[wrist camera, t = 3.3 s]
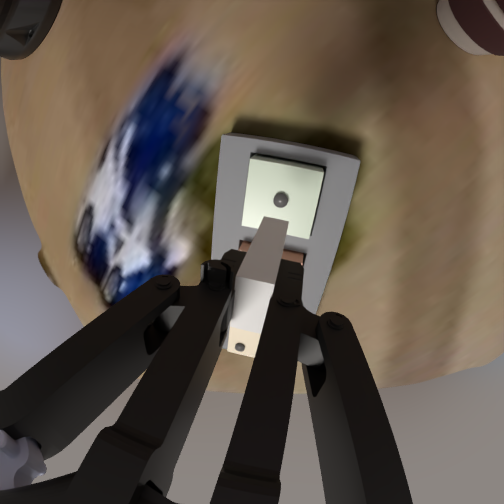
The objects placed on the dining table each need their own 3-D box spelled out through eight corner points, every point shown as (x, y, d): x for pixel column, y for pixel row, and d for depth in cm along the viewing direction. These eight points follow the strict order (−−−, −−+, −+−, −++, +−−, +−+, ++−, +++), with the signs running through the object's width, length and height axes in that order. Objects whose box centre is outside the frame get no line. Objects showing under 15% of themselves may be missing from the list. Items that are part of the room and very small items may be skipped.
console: (214, 329, 38) (207, 344, 35) (230, 132, 25) (221, 134, 22) (297, 348, 36) (296, 364, 34) (354, 155, 24) (360, 160, 21)
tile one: (248, 213, 27) (240, 226, 24) (256, 153, 24) (249, 159, 21) (309, 226, 26) (308, 240, 23) (322, 165, 23) (324, 173, 20)
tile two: (233, 334, 35) (226, 352, 32) (237, 300, 32) (230, 318, 29) (277, 344, 35) (274, 363, 32) (287, 311, 32) (284, 331, 29)
